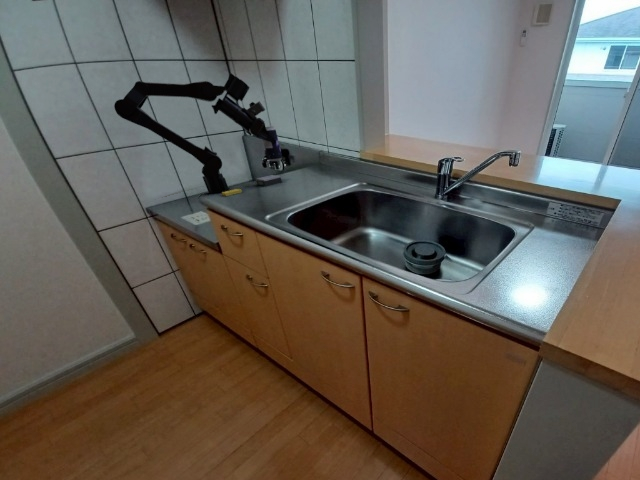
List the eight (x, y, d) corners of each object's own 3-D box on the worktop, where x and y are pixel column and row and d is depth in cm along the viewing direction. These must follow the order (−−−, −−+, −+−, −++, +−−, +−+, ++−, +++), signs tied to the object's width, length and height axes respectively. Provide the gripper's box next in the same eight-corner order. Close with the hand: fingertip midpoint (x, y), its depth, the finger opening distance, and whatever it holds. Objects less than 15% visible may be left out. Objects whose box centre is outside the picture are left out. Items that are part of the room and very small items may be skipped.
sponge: (226, 196, 116) (225, 193, 116) (222, 195, 118) (221, 192, 118) (242, 192, 120) (241, 189, 119) (238, 191, 122) (237, 188, 121)
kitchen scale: (265, 186, 125) (263, 180, 124) (257, 185, 129) (255, 178, 128) (282, 182, 129) (280, 175, 128) (273, 180, 134) (271, 174, 132)
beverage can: (282, 160, 129) (274, 126, 122) (268, 162, 128) (258, 128, 121) (283, 158, 133) (275, 126, 127) (269, 160, 132) (260, 127, 126)
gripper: (249, 91, 110) (290, 124, 120) (244, 95, 124) (280, 124, 134) (233, 119, 111) (274, 150, 121) (229, 120, 125) (266, 147, 135)
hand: (274, 142), depth 128 cm, fingers closed on beverage can, 5 cm apart
